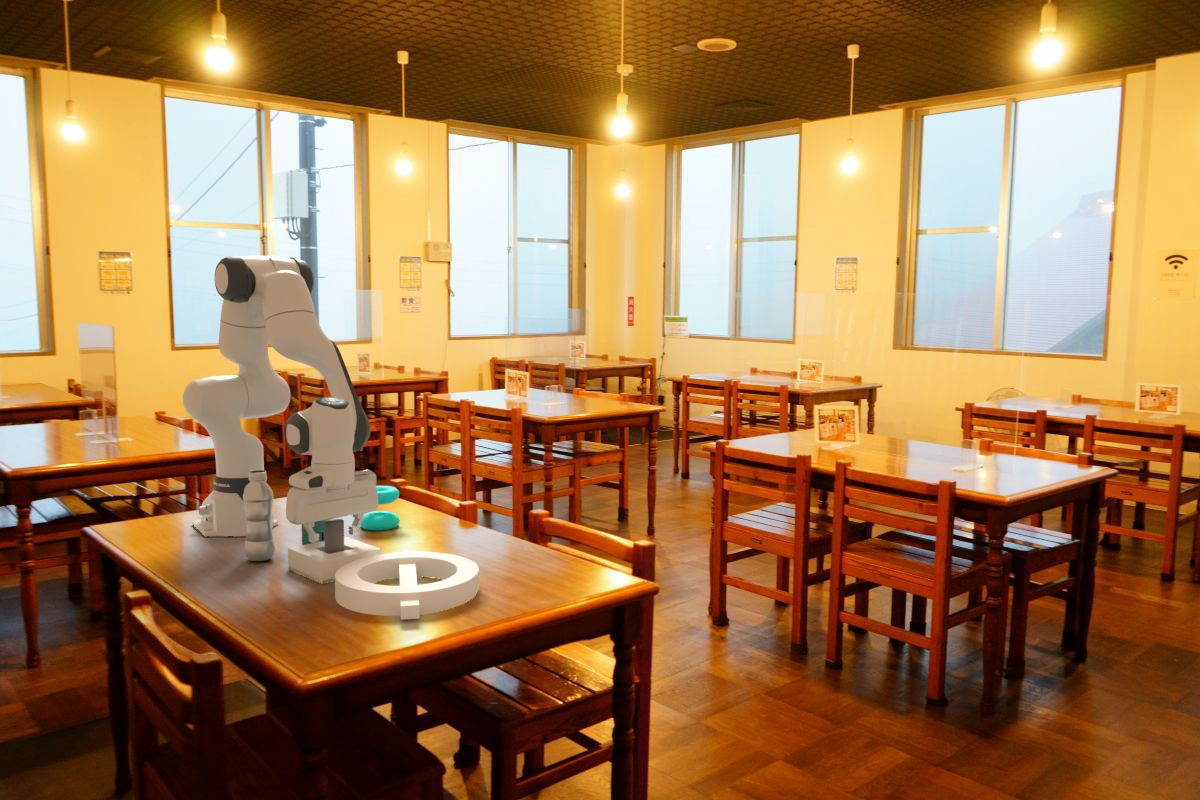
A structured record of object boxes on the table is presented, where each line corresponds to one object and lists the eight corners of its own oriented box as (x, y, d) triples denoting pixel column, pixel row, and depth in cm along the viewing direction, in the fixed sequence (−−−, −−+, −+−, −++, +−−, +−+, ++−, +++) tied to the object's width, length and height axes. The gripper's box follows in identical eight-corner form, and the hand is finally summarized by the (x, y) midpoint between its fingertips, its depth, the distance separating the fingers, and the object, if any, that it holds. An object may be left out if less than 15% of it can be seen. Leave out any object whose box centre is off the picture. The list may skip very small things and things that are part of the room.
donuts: (406, 489, 232) (371, 494, 226) (406, 527, 233) (371, 533, 227) (387, 483, 240) (352, 487, 233) (387, 520, 241) (352, 526, 234)
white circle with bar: (410, 628, 163) (410, 602, 163) (304, 599, 178) (304, 575, 177) (506, 588, 187) (506, 566, 186) (406, 565, 201) (406, 544, 201)
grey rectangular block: (321, 566, 196) (320, 520, 195) (338, 562, 198) (337, 517, 197) (331, 570, 193) (330, 524, 192) (347, 566, 196) (347, 521, 195)
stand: (288, 569, 196) (287, 548, 195) (346, 557, 206) (346, 536, 205) (322, 584, 186) (321, 561, 185) (381, 570, 196) (380, 548, 196)
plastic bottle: (246, 566, 198) (243, 475, 196) (242, 558, 204) (240, 469, 202) (277, 562, 201) (275, 473, 199) (272, 554, 207) (271, 467, 205)
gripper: (367, 466, 203) (368, 527, 205) (281, 478, 188) (282, 543, 190) (383, 470, 199) (384, 532, 200) (296, 482, 184) (297, 549, 186)
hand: (334, 538), depth 195 cm, fingers open, 8 cm apart
